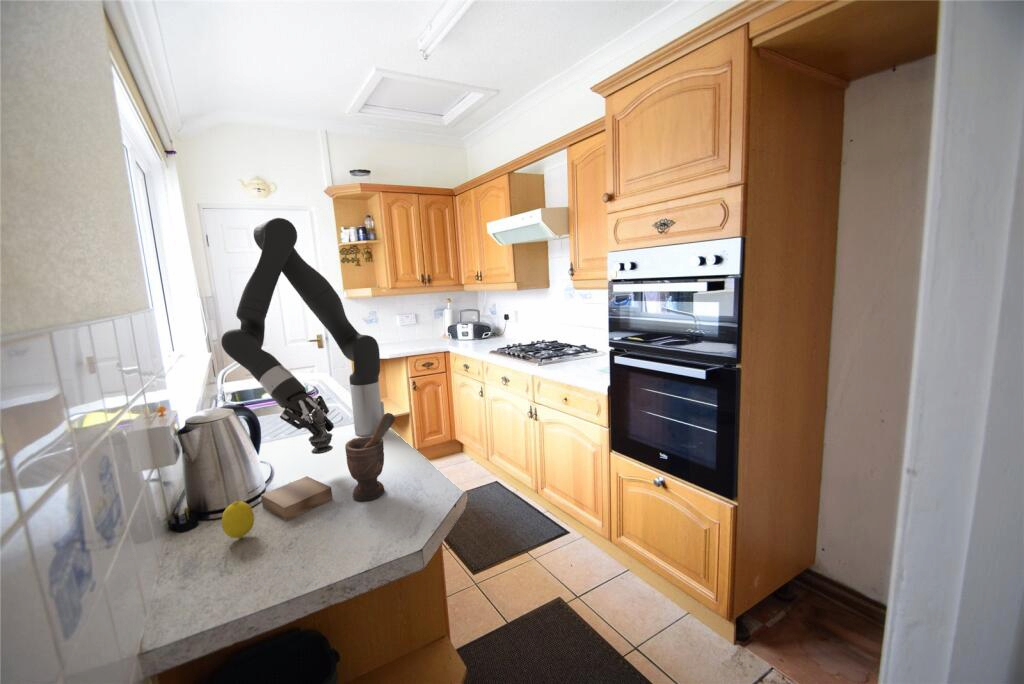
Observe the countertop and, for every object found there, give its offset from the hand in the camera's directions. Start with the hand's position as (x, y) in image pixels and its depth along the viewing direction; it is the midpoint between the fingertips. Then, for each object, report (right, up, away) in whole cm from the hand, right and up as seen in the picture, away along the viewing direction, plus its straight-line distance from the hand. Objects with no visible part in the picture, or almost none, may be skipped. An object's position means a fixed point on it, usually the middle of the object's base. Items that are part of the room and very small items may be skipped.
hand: (326, 432), depth 116 cm
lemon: (-6, -16, -26) cm, 32 cm away
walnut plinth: (-1, -14, -13) cm, 19 cm away
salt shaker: (-2, -5, +1) cm, 6 cm away
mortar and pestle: (+16, -13, -10) cm, 23 cm away
